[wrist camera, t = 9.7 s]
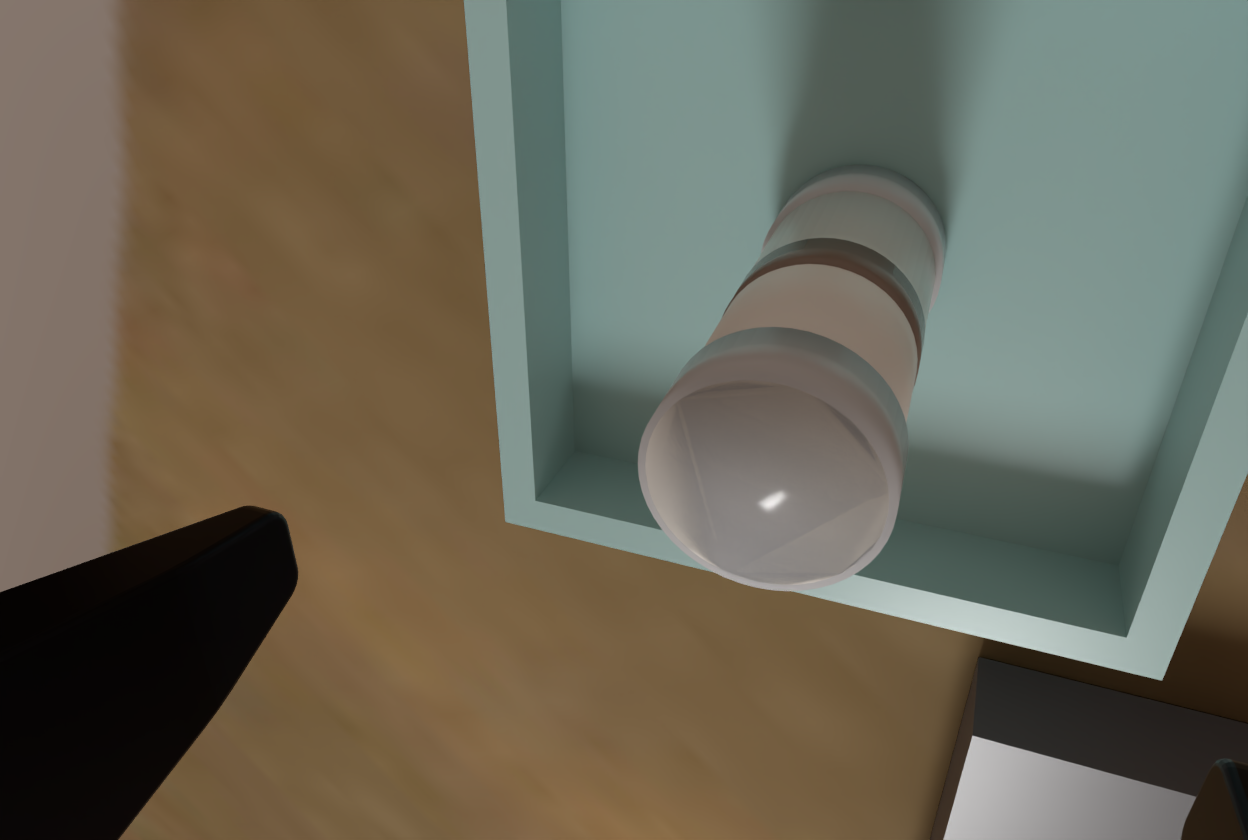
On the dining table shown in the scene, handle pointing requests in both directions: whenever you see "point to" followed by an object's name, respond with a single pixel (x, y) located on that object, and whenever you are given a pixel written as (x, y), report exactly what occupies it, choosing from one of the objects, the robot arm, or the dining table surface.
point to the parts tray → (968, 295)
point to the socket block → (1075, 761)
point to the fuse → (803, 390)
